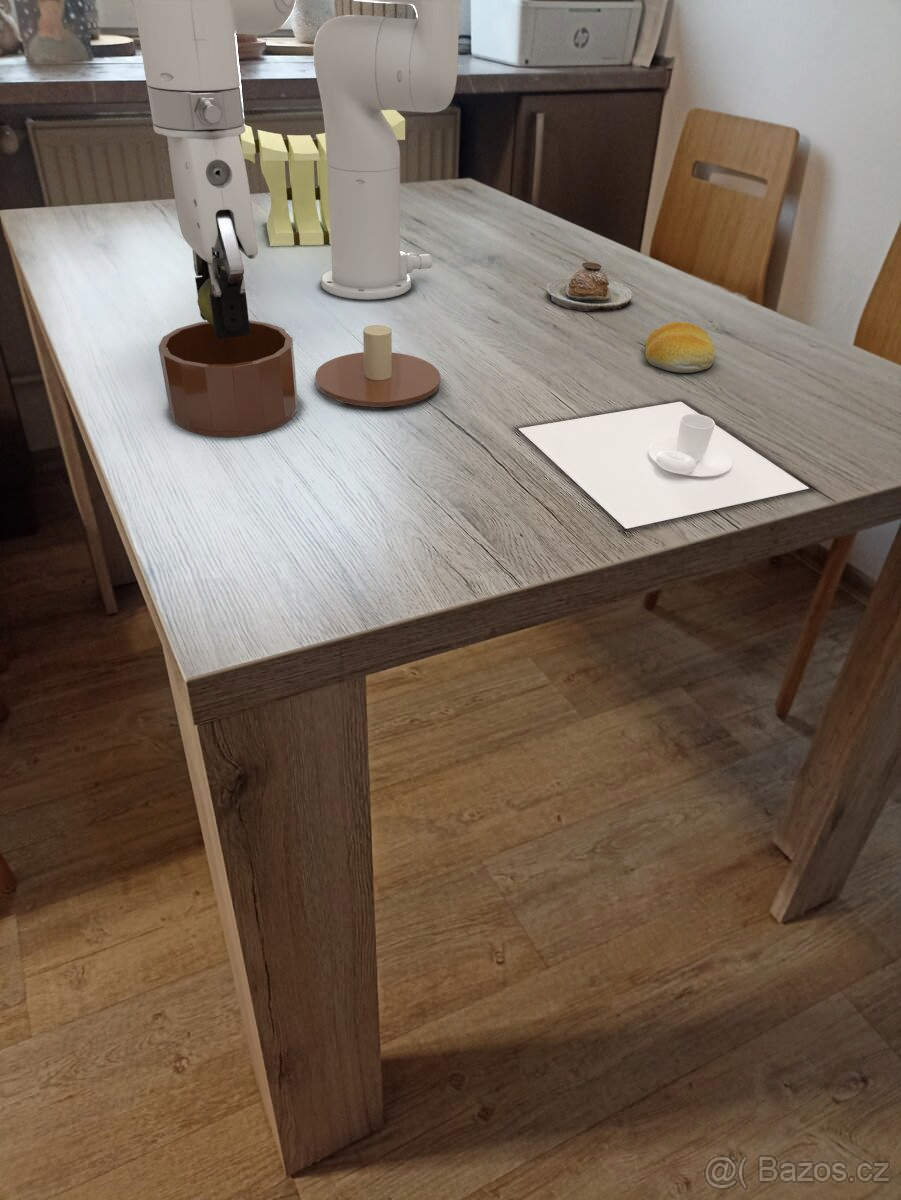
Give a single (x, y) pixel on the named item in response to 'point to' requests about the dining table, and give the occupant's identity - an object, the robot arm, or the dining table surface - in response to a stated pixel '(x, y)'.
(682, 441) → the teacup and saucer
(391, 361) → the lid
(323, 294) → the dining table surface
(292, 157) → the slatted curved stool
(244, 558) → the dining table surface
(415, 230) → the dining table surface
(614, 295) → the pastry
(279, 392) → the pot
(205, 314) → the lime
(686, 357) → the bread roll
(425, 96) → the robot arm
